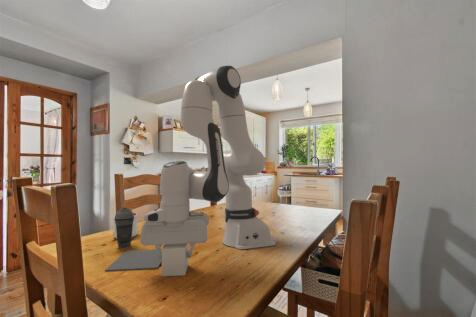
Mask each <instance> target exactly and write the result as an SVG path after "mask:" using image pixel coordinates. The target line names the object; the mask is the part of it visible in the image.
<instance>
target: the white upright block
mask: <svg viewBox="0 0 476 317" xmlns="http://www.w3.org/2000/svg"><path fill="white" fill-rule="evenodd" d="M161 249H162V262H161V277H174V276H175V277H176V276H186V274H187V271H188V268H189V258H186V256H187V255H186V252H187V250H189V244H169V245H163V246H162V247H161Z"/></svg>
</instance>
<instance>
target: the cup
mask: <svg viewBox="0 0 476 317" xmlns="http://www.w3.org/2000/svg"><path fill="white" fill-rule="evenodd" d="M133 214H134V221H133V227H132V238H134V237H135V236H137V235H138V232H139V231H138V228H139V226H138V217H139V216H138V213H136V212H133ZM114 219H115V215H113V237H114V239H116V240H117V231H116V224H115V220H114Z"/></svg>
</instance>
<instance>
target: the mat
mask: <svg viewBox="0 0 476 317" xmlns="http://www.w3.org/2000/svg"><path fill="white" fill-rule="evenodd" d="M161 250H162V248H161ZM160 265H162V259H159V254H158V252H157V251H156V249H140V250H139V249H137V250H135V249H134V250H125V251H124V252H123V253H122V254H121V255H120V256H119V257H118V258H116V260H115V261H113V262H112V263H111V264H110V265H109V266H108V267H106V269H105V270H104V272H116V271H117V272H118V271H119V272H122V271H138V270H139V271H140V270H142V271H143V270H157V269H159V267H160Z"/></svg>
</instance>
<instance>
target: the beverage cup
mask: <svg viewBox="0 0 476 317" xmlns="http://www.w3.org/2000/svg"><path fill="white" fill-rule="evenodd" d="M120 198H121V208H120V209H119V210H117V211H116V213H115V215H114V216H115V219H114V218H113V221H114V220H115V224H116V231H117V239H116V240H117V241H116V242H117V248H118V249H120V250H121V249H122V250H123V249H128V248H130V247H131V244H132V238H133V237H132V227H133V221H134V214H133V213H134V212H133V211H132V209H130V208H127V207H124V199H123V197H120Z"/></svg>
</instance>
